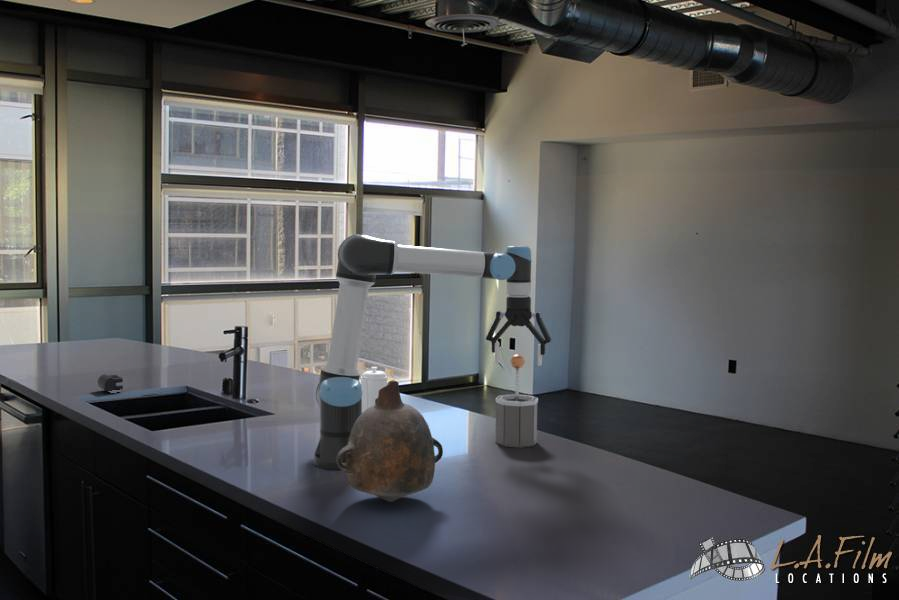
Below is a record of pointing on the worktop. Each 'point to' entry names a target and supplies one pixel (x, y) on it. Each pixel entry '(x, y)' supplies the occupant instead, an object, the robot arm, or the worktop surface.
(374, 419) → the jug
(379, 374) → the coffeepot
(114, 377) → the end cap
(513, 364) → the copper ball knob
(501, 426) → the grey octagonal tube
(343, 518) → the worktop surface
